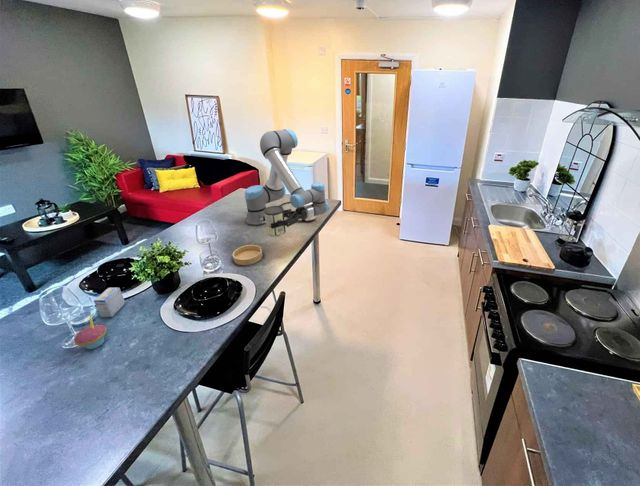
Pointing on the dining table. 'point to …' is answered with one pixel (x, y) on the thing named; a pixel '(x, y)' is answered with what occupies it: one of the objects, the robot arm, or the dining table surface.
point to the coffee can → (274, 220)
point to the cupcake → (91, 335)
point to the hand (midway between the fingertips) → (267, 222)
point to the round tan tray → (247, 254)
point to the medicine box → (109, 302)
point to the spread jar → (310, 217)
